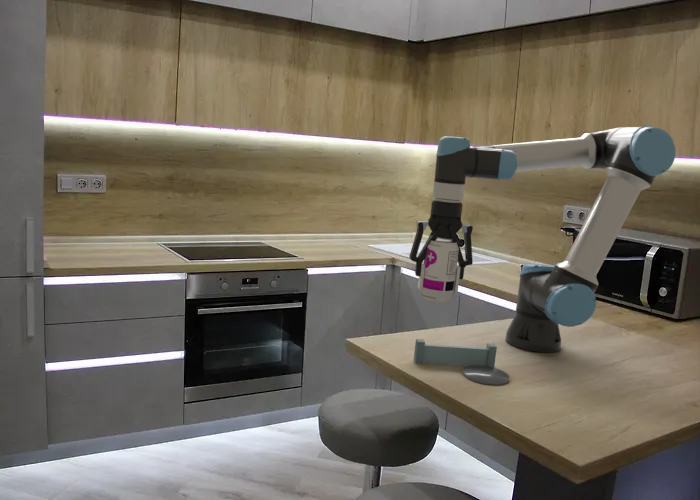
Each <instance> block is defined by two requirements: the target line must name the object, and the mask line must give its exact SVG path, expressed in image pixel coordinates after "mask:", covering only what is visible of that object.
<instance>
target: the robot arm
mask: <svg viewBox="0 0 700 500" xmlns="http://www.w3.org/2000/svg"><path fill="white" fill-rule="evenodd" d="M676 151H677V150H676V145H675V142H674V139H673V138H672V136H671V135H670V134H669V133H668V132H667V131H666V130H665V129H663V128H660V127H655V126H654V127H653V126H650V125H644V126H621V127H614V128H609V129H606V130H601V131H596V132H595V131H594V132H588V133H587V132H586V133H583V134H581V136H580V137H572V138H571V137H570V138H561V139H551V140H549V139H548V140H541V141H540V140H538V141H527V142H518V143H505V144H494V145H484V146H483V145H481V146H473V145H472V146H471V142H470V139H469V138H468V137H460V136H459V137H458V136H448V135H445V136H441V137H440V139H439V140H438V145H437V150H436V155H435V156H436V160H435V169H434V170H435V171H434V178H433V179H434V181H433V189H432V198H433V200H432V201H431V207H430V216H429V218H428V219H427V220H426V221H421V220H418V221H416V233H415V235H414V240H413V243H412V246H411V250H410V253H409V259H410V260H411V261H412V262H415V271H414V274H415V276H416V277H418V280H417V289H418V290H419V291H421V290H422V289H423V280H424V271H425V264H424V259H425V257H426V255H427V248H428V245H429V243H430V242H431V240H432V241H436V239H437V238H442V239H450V240H451V241H452V242H453V243H456V242H457V245H458V248H459V252H458V261H457V269H456V278H455V287H454V294H455V293H456V294H457V293H459V292H458V291H459V285H460V284H459V282H460V280H463V279H464V274H465V273H464V272H465V268H466V267H467V266H472V265H473V261H474V260H473V249H472V248H473V246H472V233H473V229H474V227H473V226H472V225H470V224H464V223H463V222H462V212H463V203H462V202H461V201H463V200H464V193H465V188H466V187H465V186H466V178H469V179H470V178H471V179H473V178H474V179H483V180H493V181H494V180H495V181H510V180H512V179H513V177H514V176H515V174H516V173H517V172H527V171H529V172H530V171H540V170H550V169H559V168H561V169H562V168H573V167H583V169H584V170H591V169H599V170H600V169H601V170H605V173H606V175H607V178H606V180H605V182H604V184H603V186H602V188H601V189H600V192H599V193H598V194H597V196H596V199H595V201H594V203H593V205H592V207H591V209H590V211H589V213H588V214H587V216H586V218H585V221H584V222H583V224H582V226H581V228H580V230H579V232H578V234H577V236H576V238H575V239H574V242H573V244H572V245H571V247H570V250H569V251H568V253H567V255H566V257H565V258H564V260H563V261H561V262H557V263H556V264H555V265H554V264H553V265H552V264H544V263H525V264H524V265H522V267H521V272H520V274H519V283H518V292H517V299H516V300H517V301H516V305H515V306H516V308H515V314H514V316H513V318H512V320H511V321H510V324H509V326H508V328H507V330H506V334H505V341H506V342H507V343H508V344H510V345H511V346H513V347H516V348H520V349H521V350H522V349H523V350H527V351H530V352H531V351H532V352H536V353H555V352H558V351H560V350H561V346H562V337H561V332H560V326H559V325H561V326H563V327H567V328H570V327H577V326H579V325H583V324H584V323H586V322H588V321H589V319H590V318H591V317H593V314H594V313H595V311H596V307H597V300H596V294H595V292H596V291H597V289H598V287H599V281H598V279H597V274H598V273H599V271H600V269H601V267H602V266H603V264H604V262H605V260H606V258H607V255H608V254H609V252H610V250H611V249H612V246H613V245H614V243H615V241H616V238H617V237H618V235H619V233H620V231H621V230H622V228H623V225H624V223H625V221H626V220H627V218H628V216H629V214H630V212H631V210H632V208H633V206H634V205H635V202H636V201H637V199H638V197H639V195H640V193H641V192H642V191H645V190H646V189H650V188H651V186H652V184H653V182H654V181H655V179H656V177H657V176H660V175H662V174H664V173H666V172H667V171H668V170H670V169H671V167H672V166H673V164H674V162H675V158H676ZM427 227H429V229H430V231H431V232H430V234H429V235H428V238H427V240H426V241H425V243H424V245H423V247H422V249H420V246H421V242H422V238H423V236H424V231H426V229H427ZM461 229H462V230H461ZM460 230H461V231H462V233H463V238H464V239H463V243H464V256H463V254H462V249H461V247H460V243H459V241H458V237H457V234H458V232H459V231H460ZM419 249H420V252H419ZM418 252H419V254H418ZM464 257H465V259H464Z"/></svg>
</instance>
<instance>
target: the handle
mask: <svg viewBox="0 0 700 500" xmlns="http://www.w3.org/2000/svg"><path fill="white" fill-rule="evenodd" d="M497 349H498V347H497V345H496V344H495V343H486V347H478V346H477V347H475V346H462V345H461V346H460V345H458V346H457V345H447V344H445V345H444V344H443V345H442V344H429V343H428V344H427V343H426V342H425V340H424V339H423V338H416V339H415V345H414V353H413V354H414V355H413V361H414V363H415V365H416V364H419V365H423V364H432V365H445V366H446V365H450V366H462V367H463V366H465V367H467V366H472V365H480V366H488V367H492V368H495V366H496V365H495V364H496V356H497Z"/></svg>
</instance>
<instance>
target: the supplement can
mask: <svg viewBox="0 0 700 500" xmlns="http://www.w3.org/2000/svg"><path fill="white" fill-rule="evenodd" d="M458 252H459V248H458V245H457V242H456V243H453V242H452V241H451V240H450V239H447V238H438V237H437V239H436V241H432V240H431V242H430V243H429V245H428V248H427V255H426V257H425V259H424V261H423V263H424V264H425V271H424V280H423V289H422V290H420V297H422V299H423V300H425V301H428V302H433V303H439V304H440V303H442V304H443V303H446V304H447V303H450V302H451V300H454V295H455V292H454V287H455V278H456V269H457V265H458Z"/></svg>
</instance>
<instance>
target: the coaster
mask: <svg viewBox="0 0 700 500" xmlns="http://www.w3.org/2000/svg"><path fill="white" fill-rule="evenodd" d="M461 372H462V373H461V374H462V376H463V377H465V378H466V379H468V380H470V381H473V382H476V383H478V384H484V385H489V386H500V385H505V384H508V383H509V381H510V376H509V374H508V373H507V372H505V371H504V370H501V369H499V368H495V367H494V368H492V367H488V366H480V365H472V366H465V367H463V368H462V371H461Z"/></svg>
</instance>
